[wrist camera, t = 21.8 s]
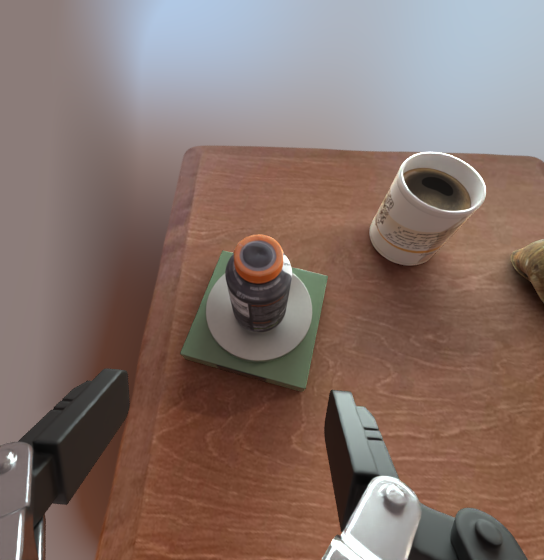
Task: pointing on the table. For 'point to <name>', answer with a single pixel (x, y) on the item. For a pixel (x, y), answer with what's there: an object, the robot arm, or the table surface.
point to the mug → (425, 207)
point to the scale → (258, 345)
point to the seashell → (531, 265)
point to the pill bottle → (258, 283)
